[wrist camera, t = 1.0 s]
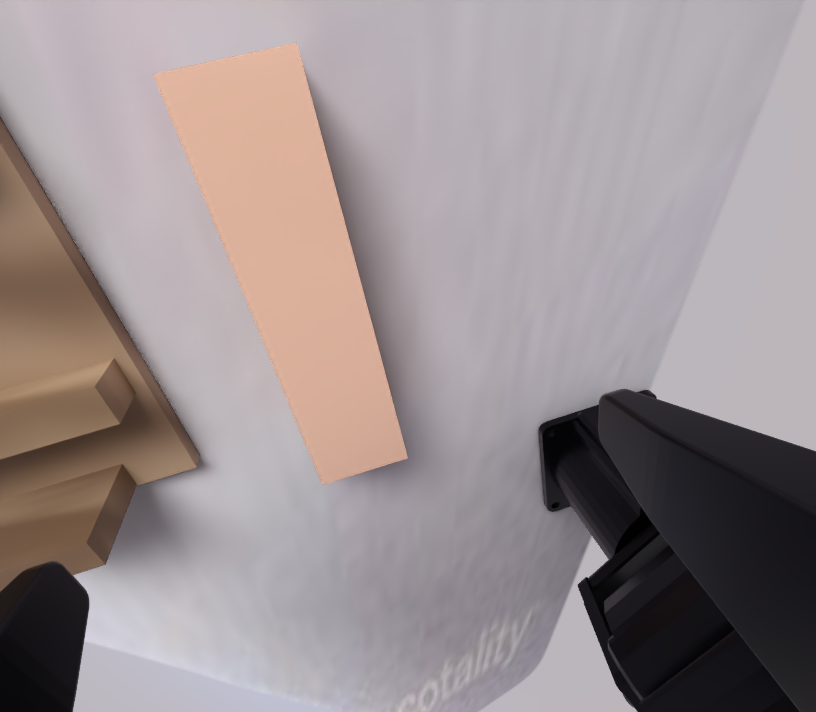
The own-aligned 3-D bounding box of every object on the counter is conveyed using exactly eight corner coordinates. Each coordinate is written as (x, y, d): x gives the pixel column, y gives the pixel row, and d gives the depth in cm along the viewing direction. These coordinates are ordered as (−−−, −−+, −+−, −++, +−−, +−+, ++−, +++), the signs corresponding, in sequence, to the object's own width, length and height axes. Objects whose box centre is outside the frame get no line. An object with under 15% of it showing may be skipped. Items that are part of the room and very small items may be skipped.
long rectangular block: (389, 402, 22) (408, 458, 19) (316, 424, 22) (322, 485, 18) (294, 55, 15) (296, 42, 11) (184, 80, 15) (152, 74, 11)
